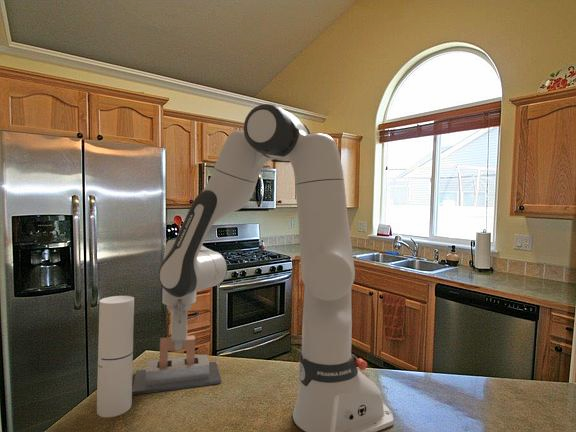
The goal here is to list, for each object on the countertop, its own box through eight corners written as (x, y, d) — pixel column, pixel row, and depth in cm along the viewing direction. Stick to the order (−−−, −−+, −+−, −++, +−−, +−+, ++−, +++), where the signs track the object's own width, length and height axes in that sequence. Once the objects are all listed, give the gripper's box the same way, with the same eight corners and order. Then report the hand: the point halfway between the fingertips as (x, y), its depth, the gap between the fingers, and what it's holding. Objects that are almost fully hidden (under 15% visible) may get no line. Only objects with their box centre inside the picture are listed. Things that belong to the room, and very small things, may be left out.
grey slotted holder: (216, 364, 103) (216, 350, 103) (221, 383, 91) (221, 367, 91) (136, 373, 96) (136, 358, 96) (131, 395, 84) (131, 377, 84)
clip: (193, 360, 96) (194, 335, 96) (194, 364, 93) (195, 339, 93) (159, 363, 93) (160, 338, 93) (159, 368, 90) (160, 342, 90)
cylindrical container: (117, 419, 74) (120, 304, 74) (89, 414, 76) (91, 302, 76) (138, 402, 81) (140, 297, 81) (111, 398, 83) (114, 294, 83)
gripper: (193, 304, 84) (192, 360, 85) (189, 287, 104) (188, 333, 104) (166, 306, 82) (164, 363, 82) (167, 288, 102) (166, 334, 102)
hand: (177, 346), depth 93 cm, fingers closed on clip, 3 cm apart
